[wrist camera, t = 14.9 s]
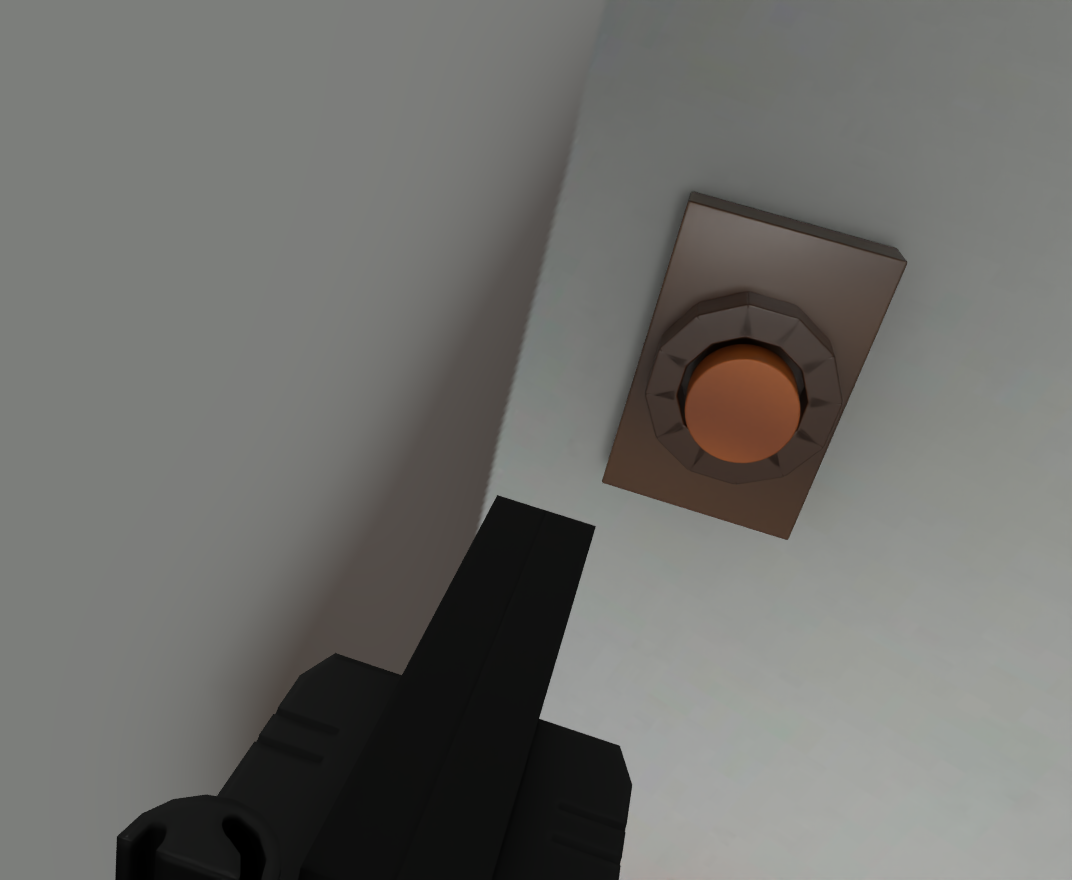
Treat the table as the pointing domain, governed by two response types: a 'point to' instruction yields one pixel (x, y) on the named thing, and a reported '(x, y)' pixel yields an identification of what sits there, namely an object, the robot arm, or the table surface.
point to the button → (742, 403)
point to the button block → (758, 319)
